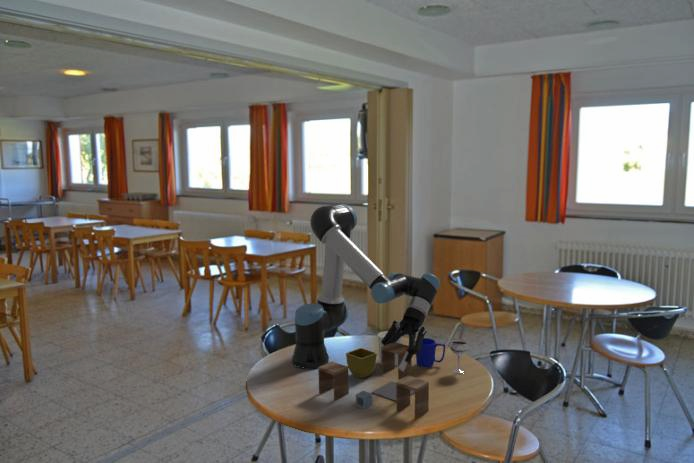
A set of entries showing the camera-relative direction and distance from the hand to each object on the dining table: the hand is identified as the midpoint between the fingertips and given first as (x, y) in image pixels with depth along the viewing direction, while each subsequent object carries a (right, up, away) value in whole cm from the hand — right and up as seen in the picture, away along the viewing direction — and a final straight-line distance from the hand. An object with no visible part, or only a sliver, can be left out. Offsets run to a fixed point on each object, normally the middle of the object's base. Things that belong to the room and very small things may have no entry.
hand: (390, 366), depth 188 cm
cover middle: (+2, -3, +3) cm, 5 cm away
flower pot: (-10, -8, +20) cm, 24 cm away
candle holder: (+2, -7, +32) cm, 32 cm away
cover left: (-20, -11, +4) cm, 23 cm away
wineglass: (+28, -8, +22) cm, 37 cm away
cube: (-10, -12, -6) cm, 16 cm away
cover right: (+6, -12, -10) cm, 17 cm away
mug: (+18, -7, +28) cm, 34 cm away
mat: (+2, -10, +4) cm, 11 cm away
